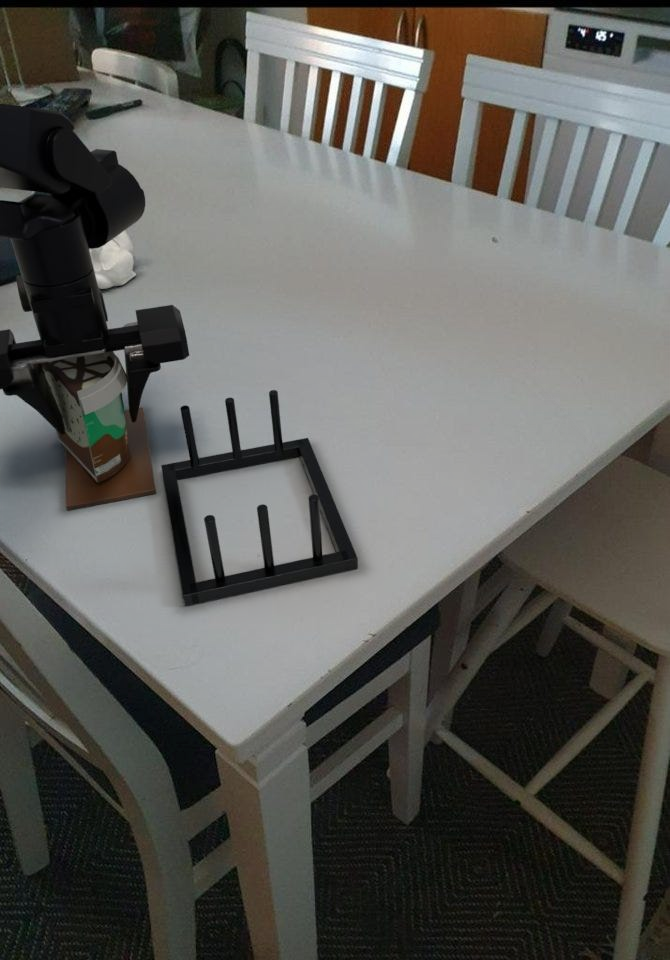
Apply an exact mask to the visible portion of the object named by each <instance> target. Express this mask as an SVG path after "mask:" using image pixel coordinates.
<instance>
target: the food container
mask: <svg viewBox="0 0 670 960" xmlns="http://www.w3.org/2000/svg"><path fill="white" fill-rule="evenodd" d="M41 364H42V367H43V370H44V374H45V377H46V379H47V381H48V384H49V386H50V388H51V391H52V393H53V395H54V398H55V400H56V402H57V405H58V407H59V409H60V412H61V414H62V417H63V421H64V425H65V434H63V435H61V434H60V433H59V432H58V431H57V430H56V429H55V432H56V435H57V439H58V441H59V442H60V444H61V445H62V446H64V448H65V447H66V448H67V450H68V451H69V452H70V453H71V454H72V455H73V456H74V457H75V458H76V459H77V461H78V462H79V463H80V464H81V465H82V466H83V467H84V468H85V469H86V470H87V472H88V473H89V474H90V475H91V476H92V477H93V478H94V479H95V480H96V481H97V482H100V481H102V480H104V479H107V478H109V477H110V476H112V475H113V474H114V473H116V472H117V471H118V470H120V469H121V468H122V467H123V465H124V464H125V463H126V462H127V460H128V457H129V452H130V450H129V442H128V435H127V428H126V420H125V413H124V410H125V408H124V407H125V406H124V400H123V391H124V390H125V387H127V375H126V370H125V369H124V366H123V364H122V362H121V360H120V358H119V356H118V355H116V354H115V351H112V352H105V353H100V354H93V355H87V356H81V357H74V358H68V359H62V360H55V361H49V362H43V363H41Z"/></svg>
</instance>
